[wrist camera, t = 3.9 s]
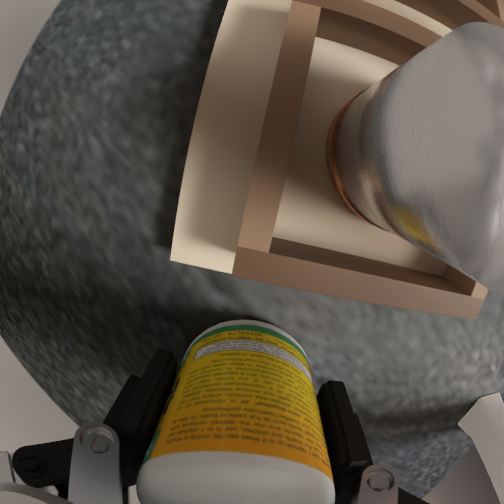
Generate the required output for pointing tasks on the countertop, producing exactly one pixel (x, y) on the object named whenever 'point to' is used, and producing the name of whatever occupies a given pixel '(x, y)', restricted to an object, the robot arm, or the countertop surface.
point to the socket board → (308, 151)
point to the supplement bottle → (239, 425)
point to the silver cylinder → (432, 152)
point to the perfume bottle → (488, 436)
